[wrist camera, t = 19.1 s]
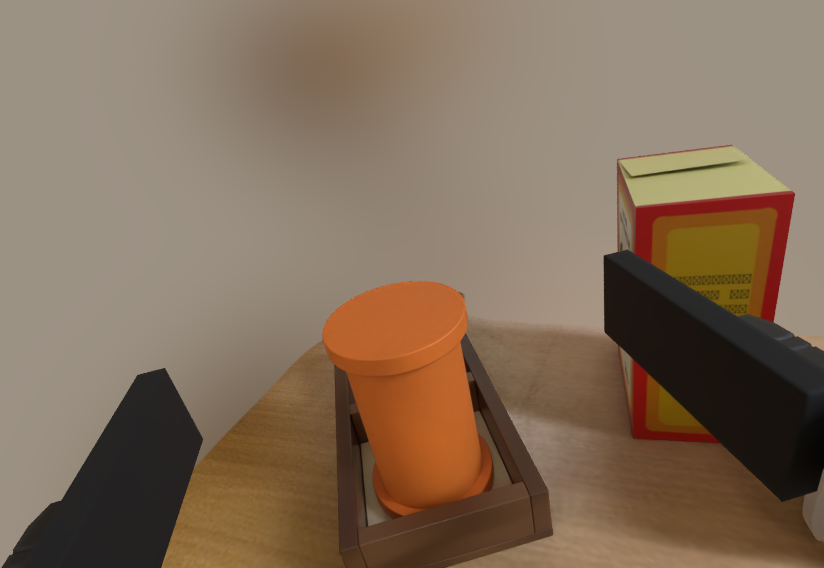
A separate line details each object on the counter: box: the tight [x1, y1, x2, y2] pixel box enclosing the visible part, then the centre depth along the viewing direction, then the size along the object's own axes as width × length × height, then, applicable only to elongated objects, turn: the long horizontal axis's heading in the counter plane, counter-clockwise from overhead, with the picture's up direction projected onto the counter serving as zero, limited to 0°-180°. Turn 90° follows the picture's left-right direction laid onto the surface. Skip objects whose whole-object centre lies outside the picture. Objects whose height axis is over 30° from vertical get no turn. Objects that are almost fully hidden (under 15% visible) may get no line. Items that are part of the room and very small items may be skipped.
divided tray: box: [334, 333, 553, 568], centre depth 34 cm, size 11×21×4 cm, turn 10°
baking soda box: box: [617, 145, 795, 443], centre depth 29 cm, size 10×6×16 cm
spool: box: [322, 281, 494, 519], centre depth 27 cm, size 8×8×12 cm
